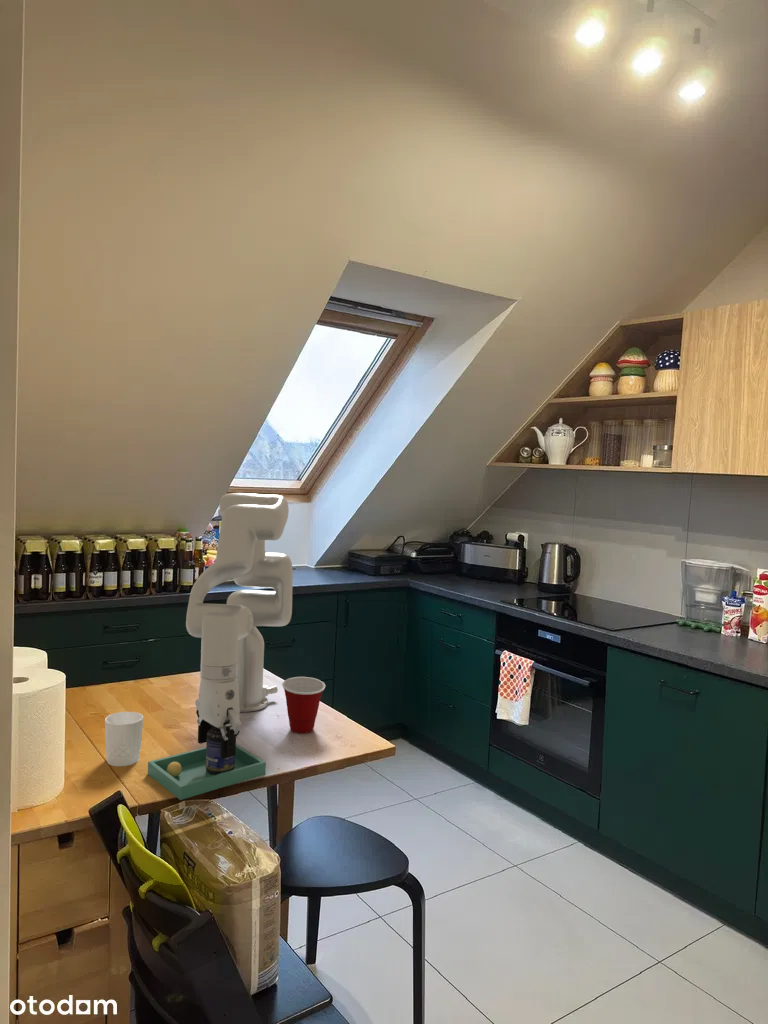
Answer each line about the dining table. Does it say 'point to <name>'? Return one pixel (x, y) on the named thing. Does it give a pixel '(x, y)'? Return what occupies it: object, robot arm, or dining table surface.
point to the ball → (174, 769)
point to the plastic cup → (302, 702)
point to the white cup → (123, 738)
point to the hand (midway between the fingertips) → (216, 749)
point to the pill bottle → (217, 753)
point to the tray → (203, 772)
